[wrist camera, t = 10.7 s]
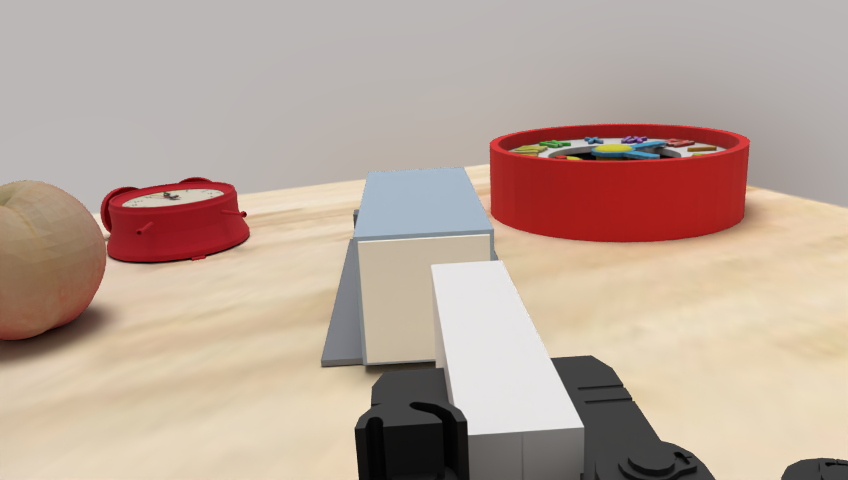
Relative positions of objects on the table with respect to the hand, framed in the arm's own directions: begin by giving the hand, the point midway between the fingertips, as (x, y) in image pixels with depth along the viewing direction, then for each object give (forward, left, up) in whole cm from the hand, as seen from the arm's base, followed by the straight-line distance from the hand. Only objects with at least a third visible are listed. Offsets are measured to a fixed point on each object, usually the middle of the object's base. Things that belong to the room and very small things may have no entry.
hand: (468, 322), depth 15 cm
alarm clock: (-45, +3, -9) cm, 46 cm away
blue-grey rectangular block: (-13, +7, -5) cm, 15 cm away
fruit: (-30, -8, -9) cm, 32 cm away
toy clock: (-28, +34, -9) cm, 46 cm away
